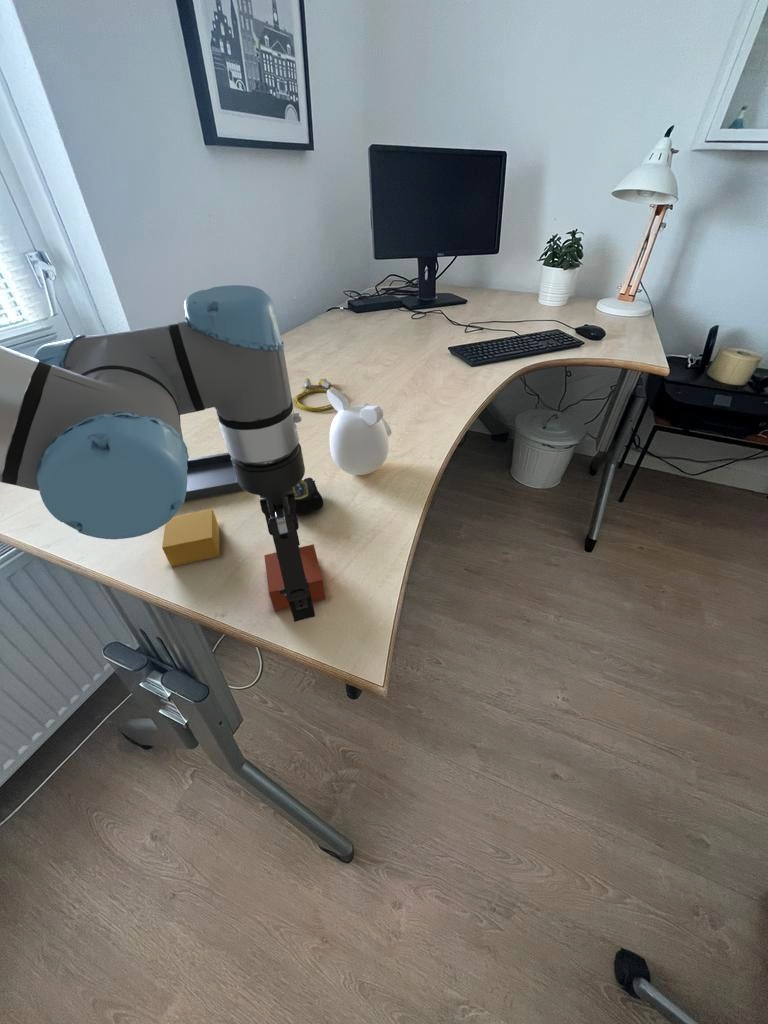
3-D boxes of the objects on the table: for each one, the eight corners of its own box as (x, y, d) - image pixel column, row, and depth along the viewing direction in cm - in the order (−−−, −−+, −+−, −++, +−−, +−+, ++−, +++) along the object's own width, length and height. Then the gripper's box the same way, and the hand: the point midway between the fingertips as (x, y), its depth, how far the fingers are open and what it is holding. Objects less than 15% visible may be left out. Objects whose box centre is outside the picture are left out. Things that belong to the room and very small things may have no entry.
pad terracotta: (274, 611, 58) (268, 592, 55) (269, 574, 63) (264, 554, 61) (325, 599, 59) (322, 579, 57) (317, 563, 65) (313, 544, 62)
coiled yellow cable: (351, 385, 113) (351, 378, 111) (334, 414, 101) (334, 406, 99) (306, 383, 114) (305, 375, 113) (285, 410, 103) (284, 402, 101)
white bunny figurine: (402, 459, 86) (403, 387, 76) (375, 492, 78) (372, 416, 68) (348, 445, 90) (342, 376, 80) (317, 475, 82) (306, 402, 72)
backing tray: (139, 509, 75) (135, 501, 74) (146, 475, 83) (143, 466, 82) (243, 490, 79) (240, 481, 77) (240, 459, 87) (238, 450, 86)
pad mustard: (171, 566, 65) (161, 547, 62) (174, 536, 70) (165, 517, 67) (219, 556, 66) (212, 537, 64) (219, 527, 71) (212, 508, 69)
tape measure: (326, 513, 73) (323, 496, 71) (285, 523, 72) (282, 505, 69) (316, 490, 78) (314, 473, 76) (278, 499, 77) (274, 482, 74)
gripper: (320, 511, 38) (342, 646, 52) (286, 394, 57) (309, 516, 70) (233, 530, 37) (279, 663, 50) (227, 403, 55) (262, 526, 69)
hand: (297, 578), depth 60 cm, fingers open, 13 cm apart
